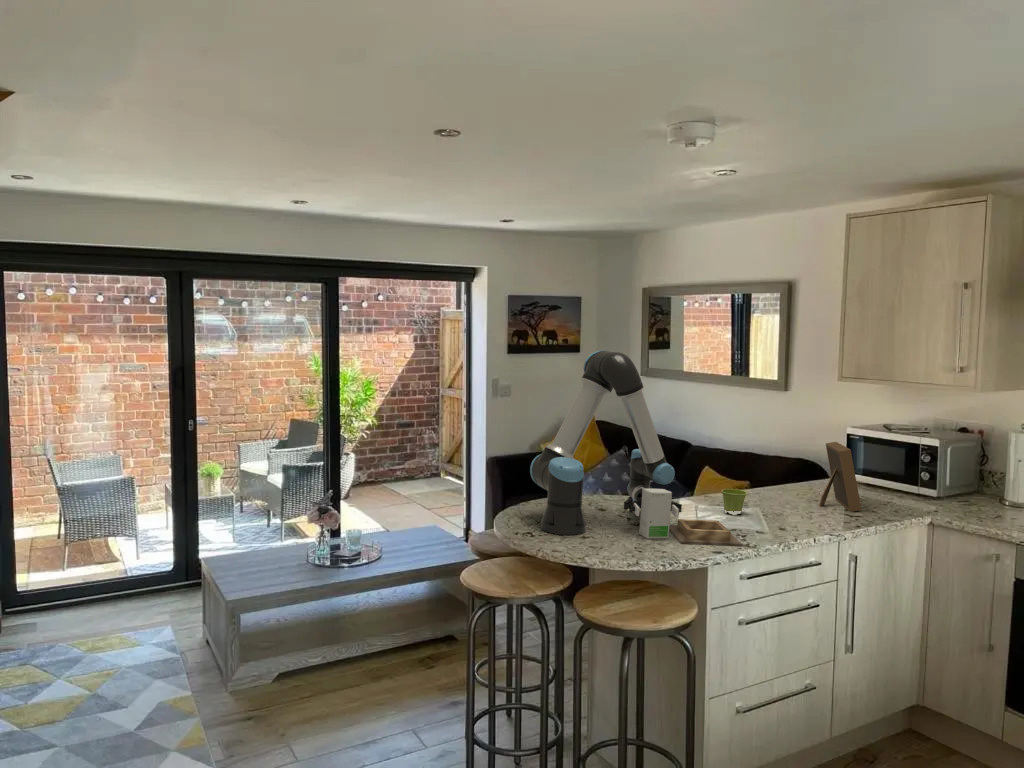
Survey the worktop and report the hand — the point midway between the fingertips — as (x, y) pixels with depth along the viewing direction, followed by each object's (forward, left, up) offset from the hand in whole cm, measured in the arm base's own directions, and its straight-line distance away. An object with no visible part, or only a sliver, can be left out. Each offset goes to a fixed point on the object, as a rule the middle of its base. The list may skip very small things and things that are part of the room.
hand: (657, 512), depth 247 cm
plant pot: (+38, +40, -9) cm, 56 cm away
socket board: (+17, +6, -9) cm, 20 cm away
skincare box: (0, +4, -9) cm, 10 cm away
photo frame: (+88, +63, -9) cm, 108 cm away
